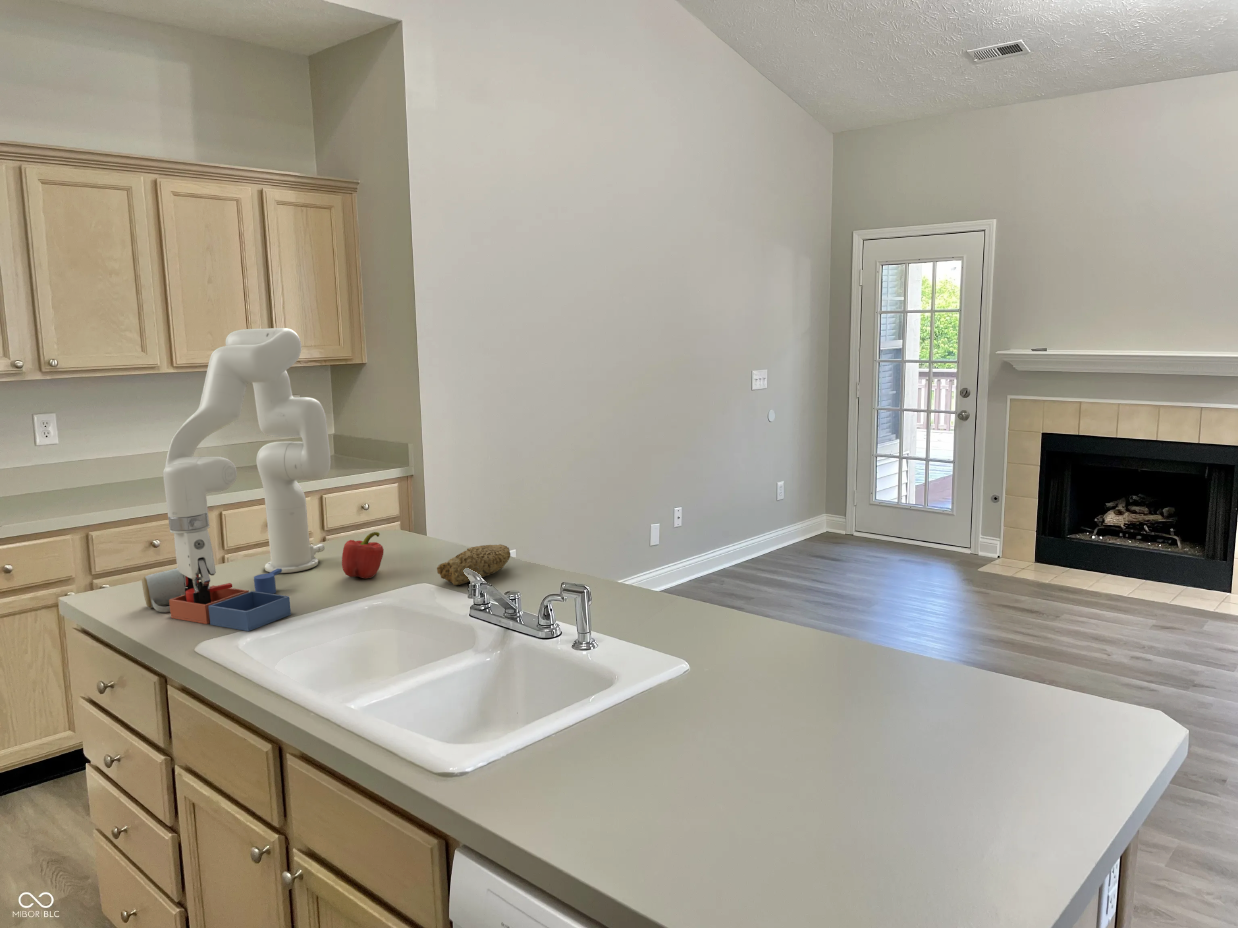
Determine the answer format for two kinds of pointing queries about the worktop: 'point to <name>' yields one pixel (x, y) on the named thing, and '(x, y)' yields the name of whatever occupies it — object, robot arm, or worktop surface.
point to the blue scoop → (266, 582)
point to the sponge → (474, 562)
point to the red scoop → (220, 587)
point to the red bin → (200, 605)
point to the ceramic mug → (163, 588)
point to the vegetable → (362, 557)
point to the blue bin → (249, 610)
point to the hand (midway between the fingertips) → (199, 606)
